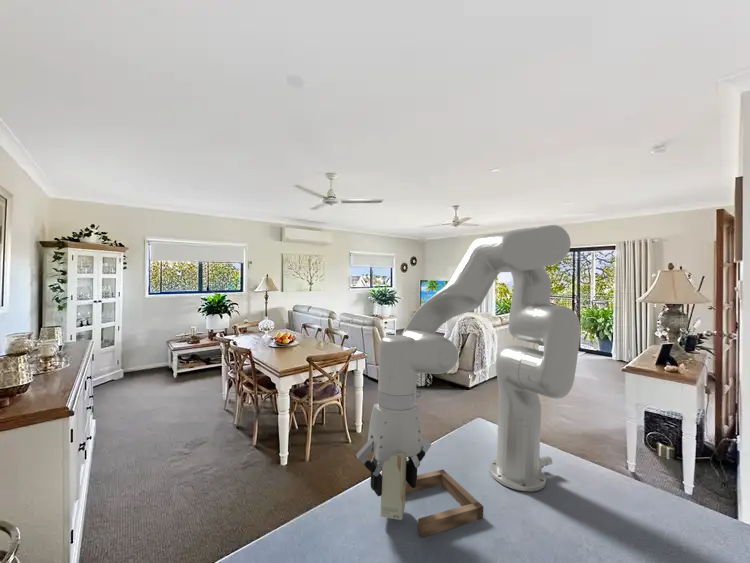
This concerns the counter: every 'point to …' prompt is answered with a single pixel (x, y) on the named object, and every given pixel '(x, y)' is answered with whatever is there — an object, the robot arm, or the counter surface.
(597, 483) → the counter surface
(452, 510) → the open wooden u frame
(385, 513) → the skincare box
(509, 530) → the counter surface
